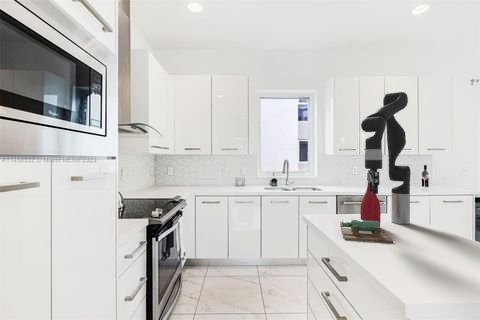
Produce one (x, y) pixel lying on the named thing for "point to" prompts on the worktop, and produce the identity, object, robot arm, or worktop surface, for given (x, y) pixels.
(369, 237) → the walnut bottle rack
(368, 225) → the green bottle
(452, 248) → the worktop surface
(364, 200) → the wine bottle
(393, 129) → the robot arm
